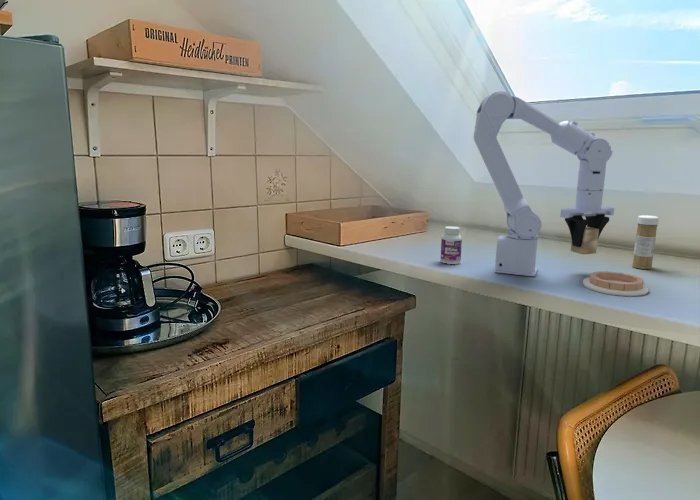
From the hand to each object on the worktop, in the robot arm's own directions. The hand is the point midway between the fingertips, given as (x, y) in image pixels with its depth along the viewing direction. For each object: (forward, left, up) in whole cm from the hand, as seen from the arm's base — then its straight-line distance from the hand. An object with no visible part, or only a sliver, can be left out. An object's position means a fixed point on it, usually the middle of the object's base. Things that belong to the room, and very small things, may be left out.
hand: (584, 245), depth 120 cm
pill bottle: (-32, -3, -7) cm, 33 cm away
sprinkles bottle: (+14, +13, -7) cm, 20 cm away
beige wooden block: (0, 0, -2) cm, 2 cm away
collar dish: (+7, -10, -7) cm, 14 cm away
